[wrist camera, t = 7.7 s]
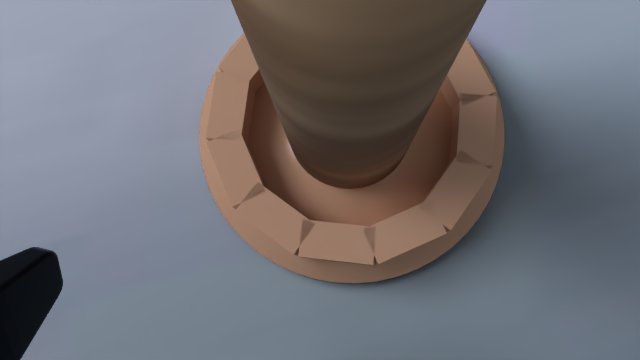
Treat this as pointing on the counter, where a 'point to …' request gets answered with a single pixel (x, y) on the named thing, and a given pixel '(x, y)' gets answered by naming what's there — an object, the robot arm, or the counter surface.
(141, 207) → the counter surface
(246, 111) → the collar dish
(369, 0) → the dowel
